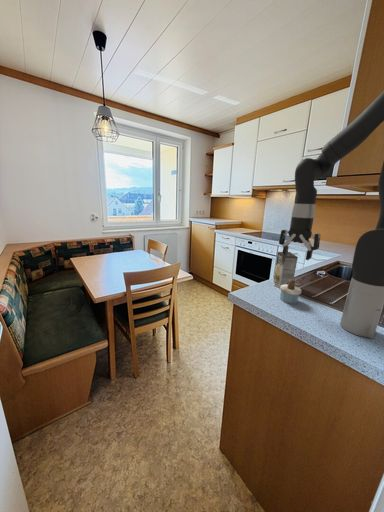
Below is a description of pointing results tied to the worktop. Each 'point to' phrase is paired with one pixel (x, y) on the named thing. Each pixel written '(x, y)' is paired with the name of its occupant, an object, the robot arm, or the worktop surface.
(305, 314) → the worktop surface
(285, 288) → the lid
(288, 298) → the bowl
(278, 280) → the coffee box
